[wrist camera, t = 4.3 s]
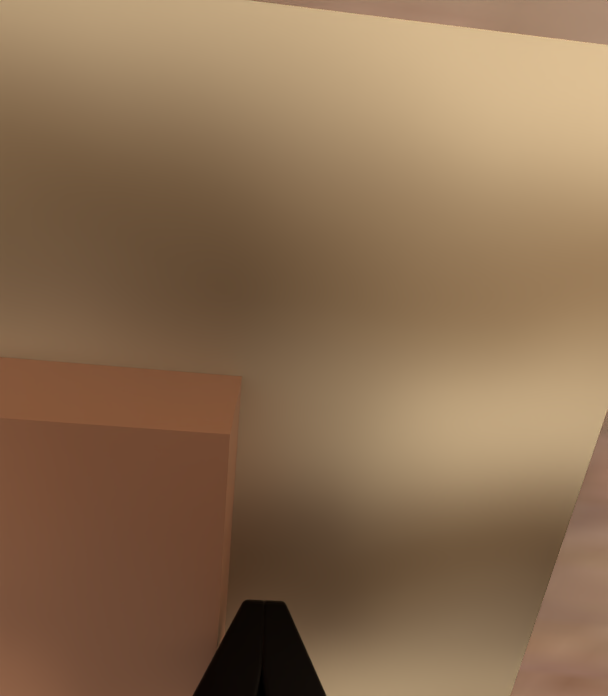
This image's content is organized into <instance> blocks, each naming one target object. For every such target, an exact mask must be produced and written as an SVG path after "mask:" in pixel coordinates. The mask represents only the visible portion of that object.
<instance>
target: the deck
mask: <svg viewBox="0 0 608 696" xmlns="http://www.w3.org/2000/svg"><path fill="white" fill-rule="evenodd" d="M0 357H6V358H18V359H31V360H43V361H56V362H68V363H81V364H93V365H106V366H118V367H131V368H143V369H156V370H168V371H181V372H193V373H206V374H218V375H230V376H242V383H241V398H240V412H239V427H238V442H237V457H236V472H235V487H234V502H233V517H232V532H231V547H230V562H229V577H228V592H227V606H226V621H225V634H226V632H227V630H228V628H229V626H230V624H231V622H232V621H233V619H234V617H235V615H236V613H237V611H238V609H239V607H240V606H241V604H242V602H243V601H244V600H247V599H250V600H263V601H266V600H273V601H283V602H285V603H286V605H287V607H288V609H289V611H290V614H291V616H292V618H293V620H294V623H295V625H296V627H297V630H298V632H299V634H300V636H301V639H302V641H303V643H304V645H305V648H306V650H307V652H308V655H309V657H310V659H311V661H312V664H313V666H314V668H315V671H316V673H317V675H318V677H319V680H320V682H321V684H322V686H323V689H324V691H325V693H326V696H510V695H511V692H512V689H513V686H514V683H515V680H516V677H517V674H518V671H519V668H520V665H521V662H522V660H523V657H524V654H525V651H526V648H527V645H528V642H529V639H530V636H531V633H532V630H533V627H534V624H535V621H536V618H537V615H538V612H539V610H540V607H541V604H542V601H543V598H544V595H545V592H546V589H547V586H548V583H549V580H550V577H551V574H552V571H553V568H554V565H555V562H556V560H557V557H558V554H559V551H560V548H561V545H562V542H563V539H564V536H565V533H566V530H567V527H568V524H569V521H570V518H571V515H572V513H573V510H574V507H575V504H576V501H577V498H578V495H579V492H580V489H581V486H582V483H583V480H584V477H585V474H586V471H587V468H588V465H589V463H590V460H591V457H592V454H593V451H594V448H595V445H596V442H597V439H598V436H599V433H600V430H601V427H602V424H603V421H604V418H605V415H606V413H607V410H608V45H603V44H595V43H587V42H578V41H570V40H562V39H554V38H546V37H538V36H530V35H522V34H514V33H506V32H498V31H490V30H482V29H474V28H466V27H458V26H450V25H442V24H434V23H426V22H418V21H410V20H402V19H394V18H386V17H378V16H370V15H362V14H354V13H346V12H338V11H330V10H322V9H314V8H306V7H298V6H290V5H282V4H273V3H265V2H257V1H249V0H0Z"/></svg>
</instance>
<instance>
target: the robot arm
mask: <svg viewBox="0 0 608 696" xmlns="http://www.w3.org/2000/svg"><path fill="white" fill-rule="evenodd" d="M192 696H326V693H325V691H324V689H323V686H322V684H321V682H320V680H319V677H318V675H317V673H316V671H315V668H314V666H313V664H312V661H311V659H310V657H309V655H308V652H307V650H306V648H305V645H304V643H303V641H302V639H301V636H300V634H299V632H298V630H297V627H296V625H295V623H294V620H293V618H292V616H291V614H290V611H289V609H288V607H287V605H286V603H285V602H283V601H273V600H266V601H263V600H250V599H247V600H244V601H243V602H242V604H241V606H240V607H239V609H238V611H237V613H236V615H235V617H234V619H233V621H232V622H231V624H230V626H229V628H228V630H227V632H226V634H225V635H224V637H223V639H222V641H221V643H220V645H219V647H218V649H217V650H216V652H215V654H214V656H213V658H212V660H211V662H210V664H209V665H208V667H207V669H206V671H205V673H204V675H203V677H202V679H201V680H200V682H199V684H198V686H197V688H196V690H195V692H194V694H193V695H192Z"/></svg>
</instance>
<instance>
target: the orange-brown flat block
mask: <svg viewBox="0 0 608 696" xmlns="http://www.w3.org/2000/svg"><path fill="white" fill-rule="evenodd" d="M241 383H242V376H230V375H218V374H206V373H193V372H181V371H168V370H156V369H143V368H131V367H118V366H106V365H93V364H81V363H68V362H56V361H43V360H31V359H18V358H6V357H0V696H192V695H193V694H194V692H195V690H196V688H197V686H198V684H199V682H200V680H201V679H202V677H203V675H204V673H205V671H206V669H207V667H208V665H209V664H210V662H211V660H212V658H213V656H214V654H215V652H216V650H217V649H218V647H219V645H220V643H221V641H222V639H223V637H224V635H225V621H226V606H227V592H228V577H229V562H230V547H231V532H232V517H233V502H234V487H235V472H236V457H237V442H238V427H239V412H240V398H241Z"/></svg>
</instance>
